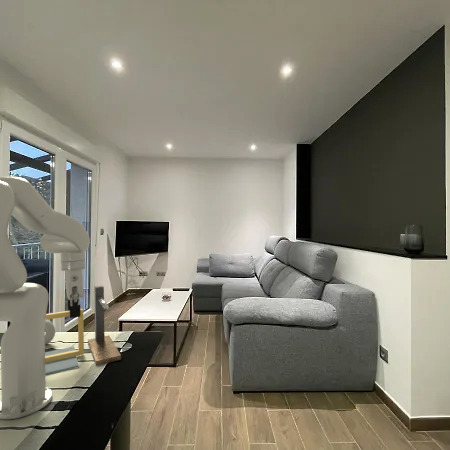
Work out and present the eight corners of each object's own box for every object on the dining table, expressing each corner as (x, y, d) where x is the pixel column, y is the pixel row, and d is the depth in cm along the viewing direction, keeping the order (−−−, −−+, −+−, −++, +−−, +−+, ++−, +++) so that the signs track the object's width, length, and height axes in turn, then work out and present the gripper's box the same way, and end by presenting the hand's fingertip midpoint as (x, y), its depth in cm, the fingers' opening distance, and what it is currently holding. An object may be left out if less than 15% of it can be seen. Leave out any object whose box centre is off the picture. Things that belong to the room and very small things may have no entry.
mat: (78, 367, 97) (78, 365, 97) (35, 377, 91) (35, 375, 91) (74, 348, 112) (74, 346, 112) (36, 355, 106) (36, 354, 106)
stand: (120, 359, 102) (119, 294, 102) (95, 365, 98) (94, 297, 98) (109, 339, 121) (108, 284, 121) (87, 343, 117) (87, 286, 117)
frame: (83, 354, 105) (83, 309, 105) (37, 364, 98) (36, 316, 98) (83, 352, 107) (82, 308, 107) (37, 362, 99) (37, 315, 99)
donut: (57, 343, 117) (57, 318, 117) (50, 347, 114) (50, 321, 114) (37, 341, 120) (36, 316, 120) (29, 344, 116) (29, 319, 116)
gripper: (87, 267, 99) (88, 318, 99) (82, 262, 114) (83, 306, 114) (62, 269, 95) (63, 322, 95) (60, 263, 110) (60, 309, 110)
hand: (74, 313), depth 104 cm, fingers open, 9 cm apart
